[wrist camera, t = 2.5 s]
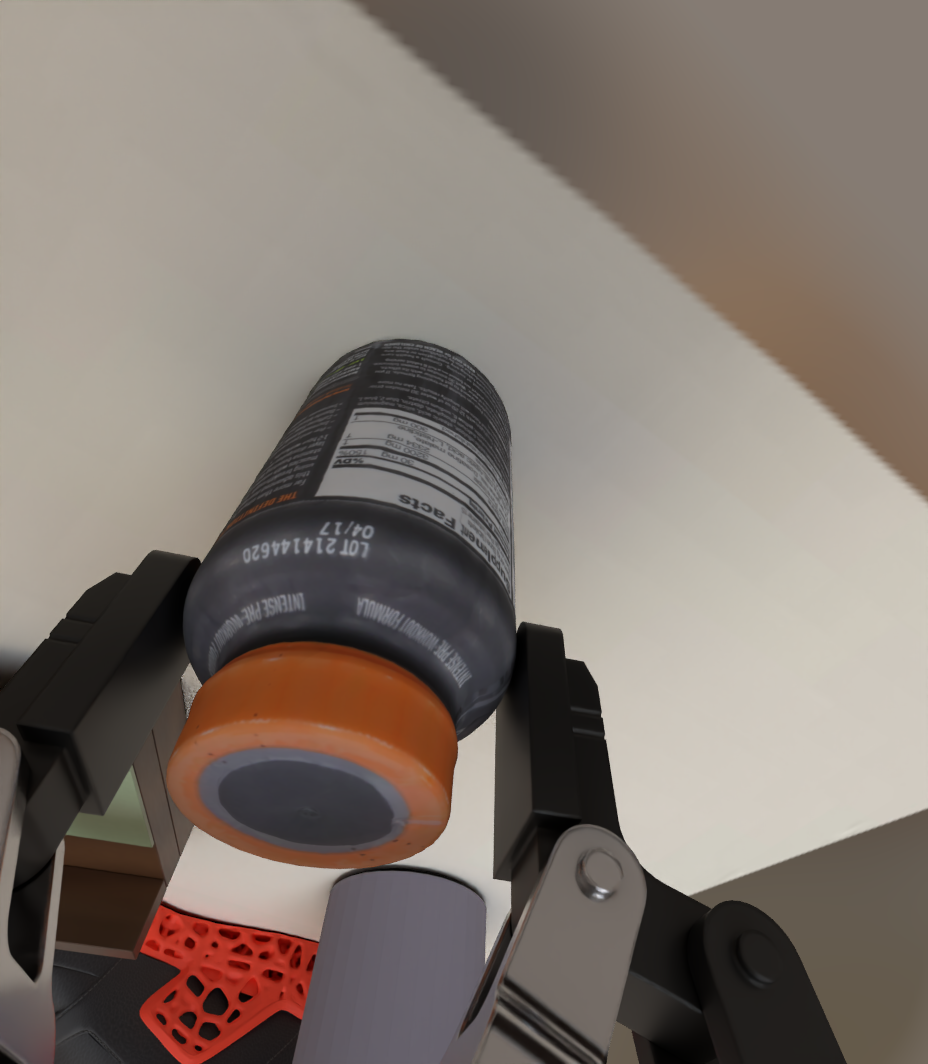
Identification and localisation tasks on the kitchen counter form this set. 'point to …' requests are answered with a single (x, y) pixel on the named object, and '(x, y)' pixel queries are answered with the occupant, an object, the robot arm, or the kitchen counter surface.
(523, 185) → the kitchen counter surface
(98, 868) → the shelf
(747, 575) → the kitchen counter surface
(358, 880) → the purple-gray cylinder
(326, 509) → the pill bottle
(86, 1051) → the high-top sneaker
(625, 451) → the kitchen counter surface
